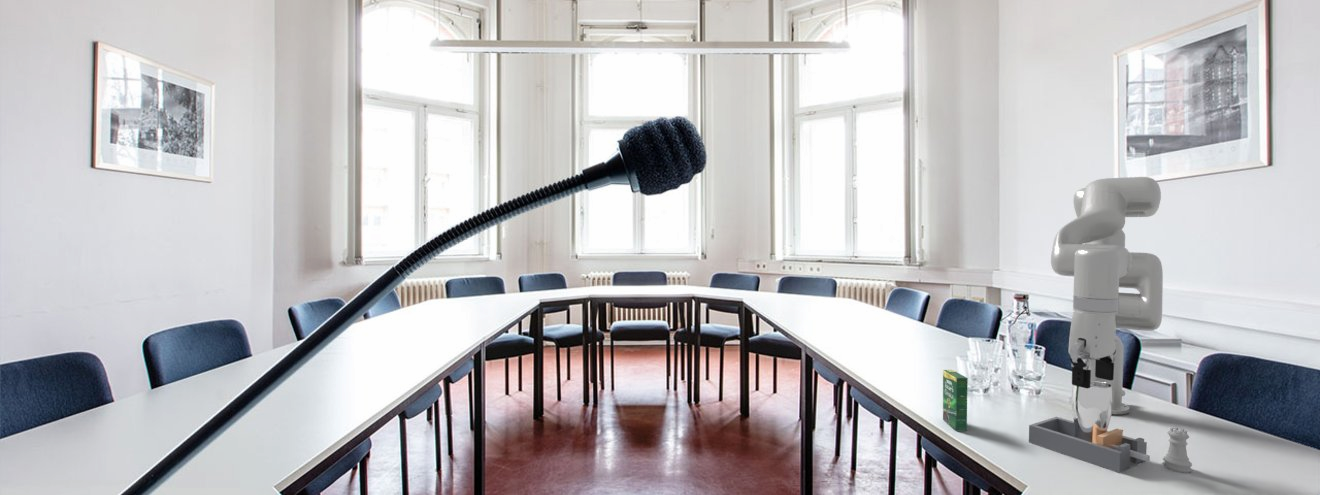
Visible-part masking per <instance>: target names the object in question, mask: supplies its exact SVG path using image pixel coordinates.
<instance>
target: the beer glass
mask: <svg viewBox="0 0 1320 495" xmlns="http://www.w3.org/2000/svg"><path fill="white" fill-rule="evenodd" d="M1070 397H1071V403H1070V405H1071V412H1072V413H1071V414H1072V419H1073V422H1074V425H1075V438H1079V439H1082V440H1085V441H1088V442H1092V443H1095V444H1097V436H1098V435H1100V434H1103V433H1106V432H1107V431H1108V429H1109V427H1110V422H1111V417H1112V415H1113V414H1112V386H1111V385H1110V384H1108V383H1105V382H1101V381H1097V380H1091V382H1090V388H1088V389H1087V388H1083V387H1079V386H1075V385H1072V389H1071V396H1070Z"/></svg>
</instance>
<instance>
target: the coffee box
mask: <svg viewBox="0 0 1320 495" xmlns="http://www.w3.org/2000/svg"><path fill="white" fill-rule="evenodd" d="M968 380H969V378H968V377H966V376H964V375H962V374H961V373H959V372H958V371H956V370H953V369H943V370H942V420H943V421H944V422H945V423H947V425H949V427H951V428H952V429H953V430H955V431H956V432H967V430H968V385H969V384H968V382H969V381H968Z"/></svg>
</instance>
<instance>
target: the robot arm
mask: <svg viewBox="0 0 1320 495" xmlns="http://www.w3.org/2000/svg"><path fill="white" fill-rule="evenodd" d="M1161 199H1162V192H1161V188H1160V185H1159V183H1158V182H1157V181H1156V180H1155V179H1154V178H1151V177H1148V176H1134V177H1133V176H1131V177H1130V176H1129V177H1127V176H1126V177H1110V178H1109V177H1106V178H1100V179H1096V180H1093V181H1091V182H1090V183H1088V184H1087V185H1086V186H1085V187H1084V188H1081V189H1078V190H1077V191H1076V192H1075V193H1074V194H1073V208H1074V211H1075V214H1076V218H1074V219H1073V220H1071V221H1070V222H1068V223H1066V224H1064V225H1063V226H1062V227H1061V228H1060V229H1059V230H1058V232H1057V233H1056V234H1055V236H1054V239H1053V244H1052V250H1051V257H1050V264H1051V269H1052V270H1053V272H1054V273H1055V274H1058V275H1059V276H1062V277H1073V296H1072V297H1073V301H1072V302H1073V303H1072V311H1073V314H1072V316H1071V317H1072V319H1071V322H1070V329H1069V338H1068V340H1069V341H1068V354H1069V356H1070V358H1069V360H1070V362H1071V385H1072V386H1073V385H1075V386H1079V387H1083V388H1087V389H1088V388H1090V382H1091V380H1097V381H1101V382H1105V383H1108V384H1110V385H1111V386H1112V414H1111V415H1126V414H1128V413H1129V412H1130V407H1129V406H1128V405H1127V404H1125V403H1123V397H1124V396H1125V395H1126V391H1125V390H1123V378H1124V343H1123V341H1122V340H1121V338H1120V337H1119V336H1118V335H1117V329H1122V330H1123V329H1124V330H1132V331H1133V330H1134V331H1144V332H1145V331H1146V332H1149V331H1151V332H1152V331H1155V330H1157V329H1158V328H1160V326H1161V324H1162V318H1163V292H1164V291H1163V289H1164V288H1163V287H1164V286H1163V284H1164V280H1163V279H1164V277H1163V265H1162V262H1161V260H1160V258H1159V257H1158V256H1157V255H1155V254H1154V253H1149V252H1130V251H1129V250H1128V249H1127V248H1126V233H1125V231H1123V229H1124V227H1125V224H1126V218H1149V217H1152V216H1154V215H1155V214H1157V211H1158V210H1159V208H1160V205H1161ZM1120 288H1124V289H1135V290H1136V291H1138V293H1135V292H1134V293H1133V292H1119V289H1120ZM1069 404H1071V396H1070V397H1069Z"/></svg>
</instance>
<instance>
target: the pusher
mask: <svg viewBox="0 0 1320 495" xmlns="http://www.w3.org/2000/svg"><path fill="white" fill-rule="evenodd" d="M1123 433H1124V431H1123V429H1120V428H1114V429H1112V430H1110V431H1108V432H1106V433H1103V434H1100V435H1098V436H1097V444H1098V445H1101V446H1105V447H1108V448H1111V449H1114V450H1118V446H1119V445H1122V438H1123V436H1124V434H1123ZM1130 456H1131V457H1134V458H1138V459H1141V460H1144V461H1145V462H1149V461H1150V459H1151V457H1150V456H1151V455H1149V454H1147V453H1146V454H1143V453H1139V452H1136V451H1133V450H1130Z"/></svg>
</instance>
